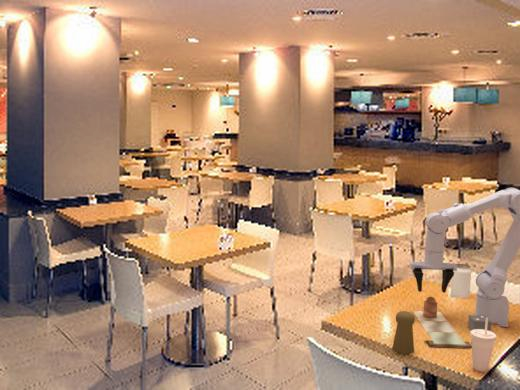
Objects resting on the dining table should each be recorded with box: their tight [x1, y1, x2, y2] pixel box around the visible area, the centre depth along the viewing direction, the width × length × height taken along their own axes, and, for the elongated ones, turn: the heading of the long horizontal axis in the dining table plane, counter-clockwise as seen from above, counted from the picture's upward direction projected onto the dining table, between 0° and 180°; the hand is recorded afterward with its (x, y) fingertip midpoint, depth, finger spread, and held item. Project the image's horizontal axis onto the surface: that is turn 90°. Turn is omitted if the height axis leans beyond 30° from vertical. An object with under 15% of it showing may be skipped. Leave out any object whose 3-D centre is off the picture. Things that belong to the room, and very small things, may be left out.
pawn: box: [422, 296, 438, 318], centre depth 180 cm, size 4×4×6 cm
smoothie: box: [469, 318, 497, 373], centre depth 144 cm, size 6×6×14 cm
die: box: [467, 314, 492, 332], centre depth 168 cm, size 5×5×5 cm
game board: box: [413, 310, 472, 350], centre depth 171 cm, size 12×27×1 cm, turn 178°
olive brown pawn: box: [392, 310, 416, 355], centre depth 155 cm, size 6×6×11 cm
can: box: [450, 263, 472, 299], centre depth 201 cm, size 6×6×12 cm
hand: (431, 291), depth 179 cm, fingers open, 7 cm apart
